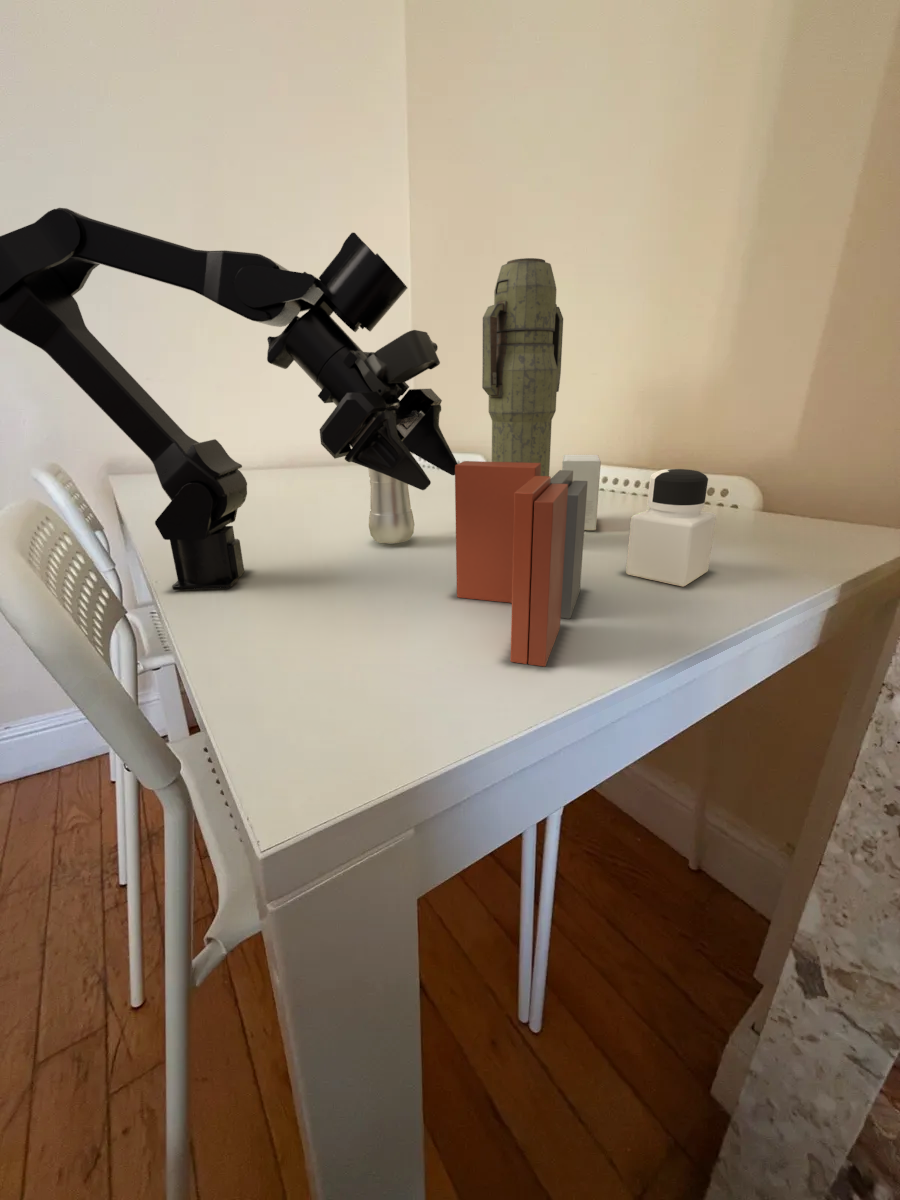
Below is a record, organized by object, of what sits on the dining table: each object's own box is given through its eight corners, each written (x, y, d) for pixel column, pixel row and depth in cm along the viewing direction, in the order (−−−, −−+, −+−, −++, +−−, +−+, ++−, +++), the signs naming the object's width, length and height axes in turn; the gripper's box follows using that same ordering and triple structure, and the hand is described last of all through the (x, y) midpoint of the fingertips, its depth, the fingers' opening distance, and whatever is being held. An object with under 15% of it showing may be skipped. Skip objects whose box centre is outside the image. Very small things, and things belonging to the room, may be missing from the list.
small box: (595, 531, 86) (601, 460, 82) (558, 530, 87) (562, 460, 83) (594, 519, 94) (599, 454, 90) (559, 518, 95) (563, 453, 91)
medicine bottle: (708, 572, 67) (724, 469, 63) (684, 588, 63) (699, 478, 58) (651, 560, 72) (662, 464, 68) (624, 574, 67) (634, 471, 63)
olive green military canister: (466, 543, 81) (464, 262, 69) (523, 529, 88) (531, 272, 76) (511, 556, 75) (518, 249, 62) (568, 540, 82) (585, 261, 69)
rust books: (510, 662, 47) (514, 492, 42) (529, 624, 54) (534, 475, 49) (545, 666, 46) (553, 494, 41) (560, 628, 53) (568, 476, 48)
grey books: (540, 615, 56) (546, 482, 51) (553, 589, 63) (559, 470, 58) (570, 619, 55) (578, 484, 50) (579, 591, 62) (588, 470, 57)
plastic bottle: (424, 539, 83) (419, 395, 76) (395, 551, 78) (387, 396, 71) (389, 534, 87) (381, 395, 80) (360, 544, 81) (349, 396, 74)
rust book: (456, 597, 61) (454, 464, 56) (464, 588, 64) (463, 460, 59) (530, 605, 59) (535, 467, 54) (536, 595, 61) (541, 462, 56)
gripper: (337, 286, 46) (469, 429, 47) (421, 310, 62) (518, 415, 63) (268, 391, 51) (387, 519, 52) (362, 388, 68) (452, 484, 68)
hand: (443, 479), depth 59 cm, fingers open, 9 cm apart
